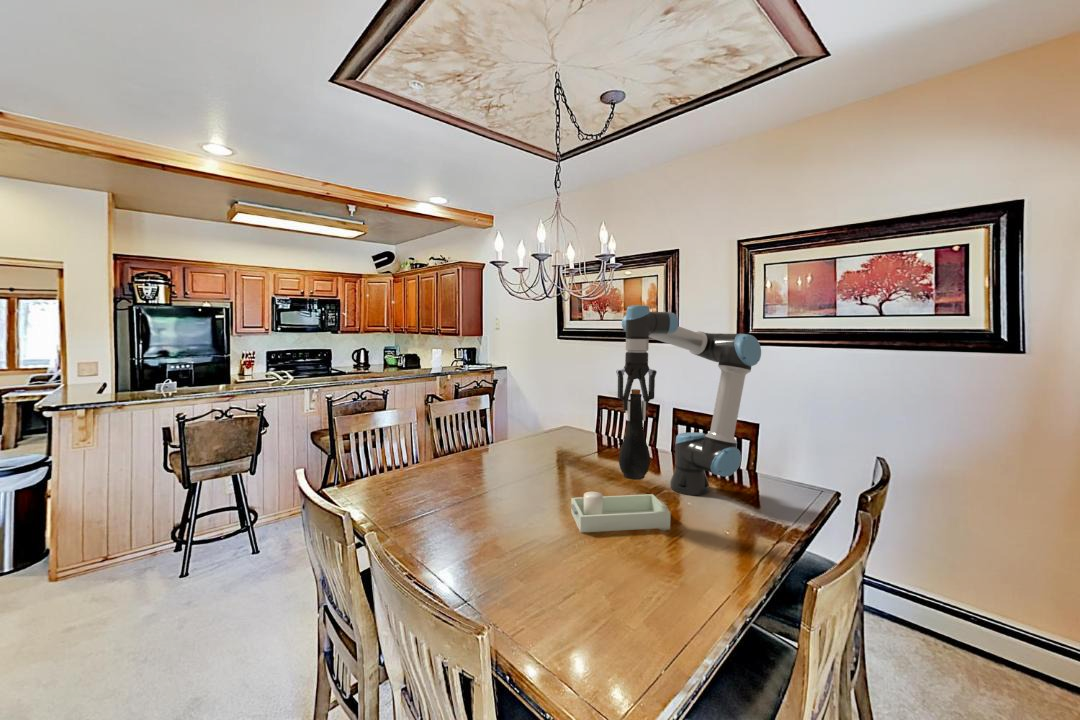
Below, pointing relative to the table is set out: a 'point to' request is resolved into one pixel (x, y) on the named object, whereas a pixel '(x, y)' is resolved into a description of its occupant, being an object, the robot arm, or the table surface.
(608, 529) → the tote
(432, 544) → the table surface
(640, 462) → the bottle
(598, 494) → the cream capsule cylinder
